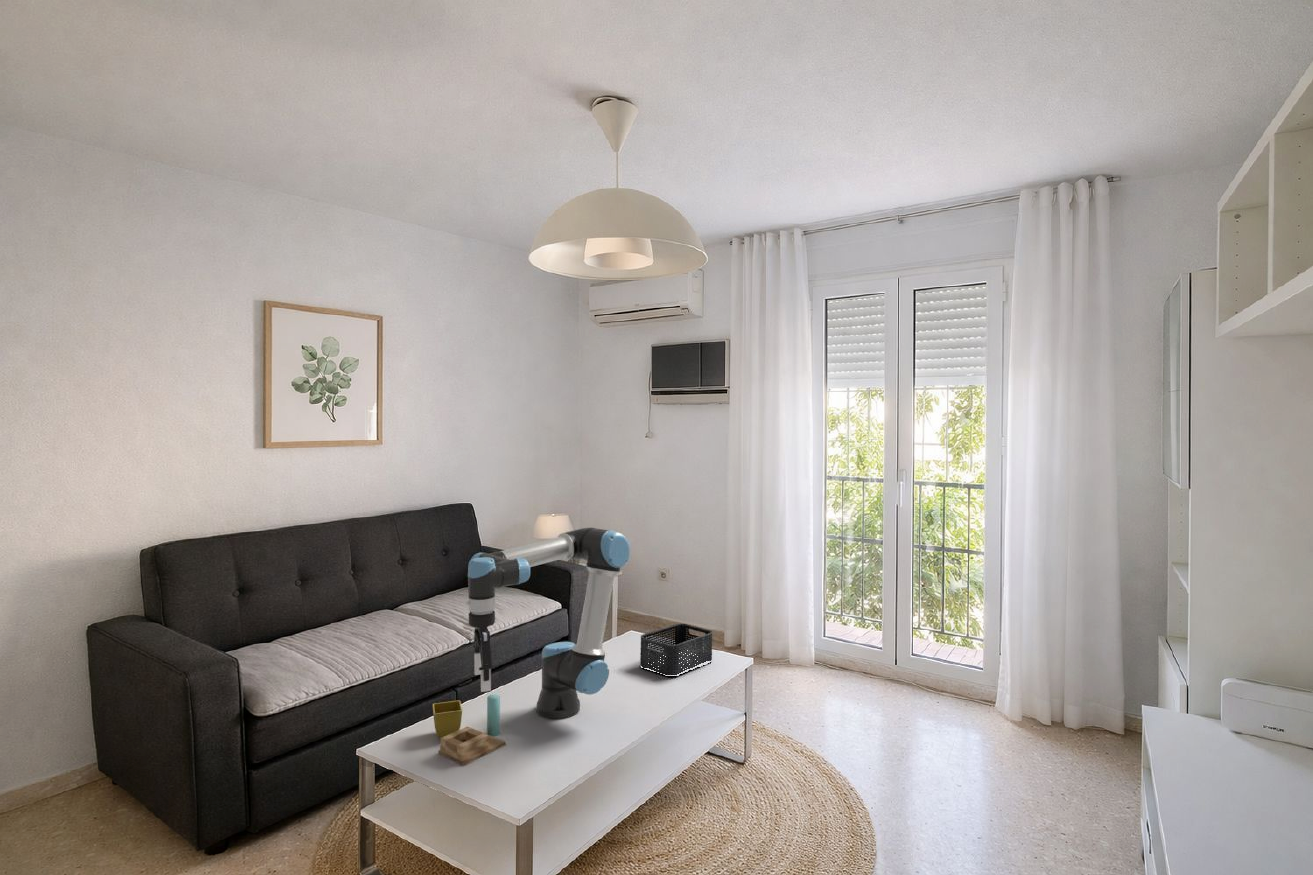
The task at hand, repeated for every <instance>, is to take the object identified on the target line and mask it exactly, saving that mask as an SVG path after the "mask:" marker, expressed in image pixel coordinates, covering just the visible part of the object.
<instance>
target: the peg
mask: <svg viewBox="0 0 1313 875" xmlns="http://www.w3.org/2000/svg"><path fill="white" fill-rule="evenodd" d="M486 699H487V700H486V701H487V702H486V704H487V706H486V707H487V708H486V710H487V713H486V734H488V735H490V736H493V737H497V736H499V735H500V733H501V728H500V727H501V695H500V694H496V693H495V694H489V695H488V696H487V698H486Z"/></svg>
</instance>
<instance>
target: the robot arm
mask: <svg viewBox="0 0 1313 875" xmlns="http://www.w3.org/2000/svg"><path fill="white" fill-rule="evenodd" d="M630 547H631V546H630V543H629V540H627V537H625V535H624V534H622V533H621V532H617V531H614V530H608V529H603V528H602V529H601V528H596V527H583V528H579V529H573V530H571V531H566V532H562V533H559V535H557V536H556V537H554V538H550V539H545V540H540V541H537V542H532V543H529V544H524V545H520V546H516V547H511V548H508V549H504V550H500V551H494V552H491V553H488V552H478V553H475V554H474V555H473V556H472V557H471V559H470V560H469V561H468V566H467V568H468V570H467V571H468V572H467V582H468V583H467V584H468V592H467V593H468V600H467V601H466V605H468V611H469V612H468V625H469V626H470V627H471V628H474V631H473V645H472V646H473V652H474V654H473V656H474V658H473V659H474V668H473V669H474V676H479V675H480V692H481V693H483V692H491V690H492V679H491V678H492V675H491V674H492V671H491V670H492V668H493V663H492V653H491V633H490V632H491V631H489V628H488V627H491V626H493V625H494V624H495V622H496V611H495V609H496V594H495V592H496V589H500V588H504V587H509V586H510V587H511V586H515V585H520V584H523V583H525V582H526V583H527V581H529V579H530V577H531V568H532V567H536V566H539V565H543V564H548V563H551V562H552V563H553V562H554V561H558V560H563V561H570V560H584V561H586V565H585V567H586V569H587V570H588V572H589V574H588V580H587V584H586V592H585V598H584V601H583V602H584V603H583V608H582V613H581V618H580V623H579V628H578V629H579V630H578V634H577V635H578V636H577V641H576V643H574V642H572V641H559V642H554V643H553V642H552V643H549V644H547V645H545V646H544V647H543V648H542V654H541V689H540V693H539V696H538V700H537V702H536V708H535V709H536V713H537V714H538V716H541V717H542V718H547V719H565V718H569V717H572V716H575V715H577V714H578V713H579V712H580V711H581V710H580V709H581V701H580V699H579V696H578V693H580V694H584V695H589V696H591V695H595V694H597V693H598V692H600V691H601V690H602V689H603V688H604V687H605V686H606V684H607V683H608V680H609V678H610V676H609V675H610V667H609V665H608V663H607V662H606V661H605V659H606V658H605V657H606V652H605V651H604V649H603V643H604V637H605V631H606V626H607V622H608V614H609V608H610V603H611V597H612V591H613V587H614V586H613V585H614V580H615V577H616V576H617V575H618V574H620V571H621V567H624V566H625V565H626V563H627V562H628V561H629V558H630V555H631V553H630V552H631V548H630Z"/></svg>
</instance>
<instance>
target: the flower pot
mask: <svg viewBox="0 0 1313 875" xmlns="http://www.w3.org/2000/svg"><path fill="white" fill-rule="evenodd" d="M432 715H433V722H434V723H433V724H434V730H435V733H436V735H437V737H438V738H439V739H441V738H442V737H444V736H447V735H449V734H451V733H454V732H456V731H458V730H460V729H461V725H462V718H463V717H462V716H463V708H462V702H461V700H452V701H451V700H450V701H445V702H437V703H432Z"/></svg>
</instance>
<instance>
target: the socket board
mask: <svg viewBox="0 0 1313 875" xmlns="http://www.w3.org/2000/svg"><path fill="white" fill-rule="evenodd" d="M506 745H507V743H506V741H505V740H502V739H499V738H498V737H496V736H490V735H488V734H487V733H484V732H482V731H480V730H477V729H474V728H473V727H469V726H465V727H463V728H460V729H459V730H458V731H456V732H454V733H451V734H449V735H447V736H444V737H442V738H440V749H439V750H438V751H437V752H438V754H439V755H440V756H443V757H445V758H448V759H449V760H452V761H454V762H456V763H458V764H461V765H462V766H466V765H468V764H470V763H472V762H475V761H476V760H478V759H480V758H482V757H484V756H487V755H489V754H491V753H493V752H495V751H496V750H499V749H501V748H502V747H504V746H506Z"/></svg>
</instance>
